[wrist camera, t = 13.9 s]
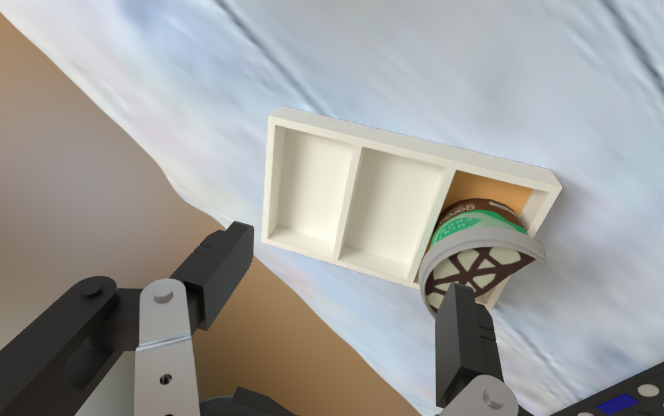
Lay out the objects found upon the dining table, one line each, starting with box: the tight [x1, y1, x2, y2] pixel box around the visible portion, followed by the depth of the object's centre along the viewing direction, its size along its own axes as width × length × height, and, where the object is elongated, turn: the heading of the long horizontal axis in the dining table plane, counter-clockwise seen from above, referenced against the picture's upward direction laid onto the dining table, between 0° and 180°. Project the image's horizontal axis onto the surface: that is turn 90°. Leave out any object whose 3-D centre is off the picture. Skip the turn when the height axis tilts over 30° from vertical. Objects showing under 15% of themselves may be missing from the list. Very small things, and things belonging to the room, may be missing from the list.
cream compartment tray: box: [261, 106, 563, 311], centre depth 40 cm, size 29×17×4 cm, turn 81°
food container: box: [418, 198, 546, 320], centre depth 35 cm, size 12×6×10 cm, turn 144°
